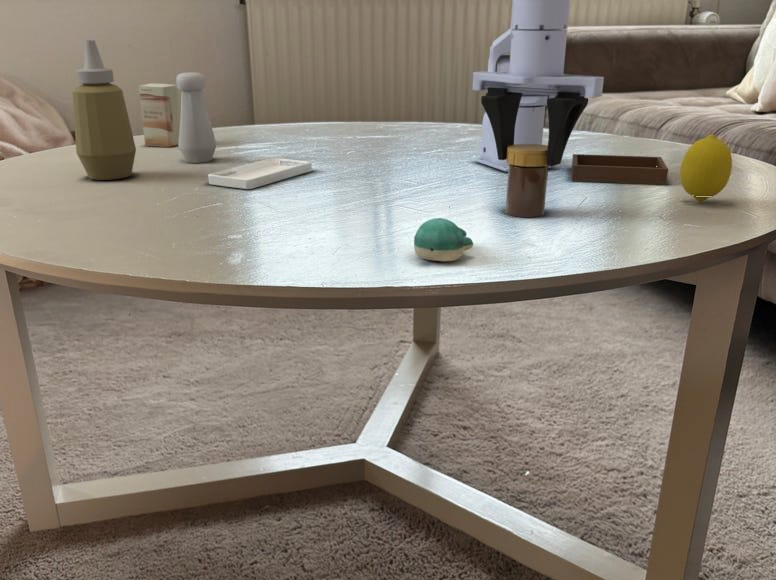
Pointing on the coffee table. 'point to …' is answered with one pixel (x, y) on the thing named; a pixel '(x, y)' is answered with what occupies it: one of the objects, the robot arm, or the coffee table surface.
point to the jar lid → (527, 155)
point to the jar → (526, 191)
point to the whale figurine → (441, 240)
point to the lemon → (706, 168)
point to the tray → (619, 169)
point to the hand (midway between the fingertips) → (528, 161)
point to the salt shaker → (194, 120)
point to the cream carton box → (160, 114)
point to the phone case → (259, 173)
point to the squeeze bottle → (101, 121)
